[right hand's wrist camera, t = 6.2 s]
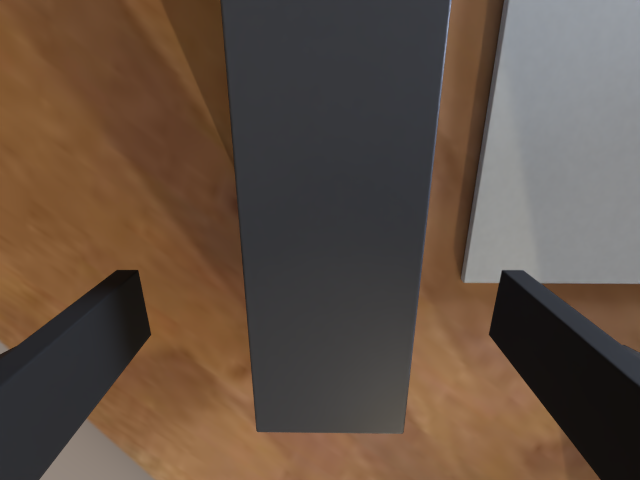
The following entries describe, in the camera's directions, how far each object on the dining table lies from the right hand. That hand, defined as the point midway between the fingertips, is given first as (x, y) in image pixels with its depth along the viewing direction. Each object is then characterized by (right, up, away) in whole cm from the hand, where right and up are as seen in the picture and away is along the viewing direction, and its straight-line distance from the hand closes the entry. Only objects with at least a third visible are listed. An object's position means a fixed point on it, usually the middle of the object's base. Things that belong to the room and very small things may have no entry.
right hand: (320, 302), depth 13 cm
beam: (0, +13, +3) cm, 14 cm away
